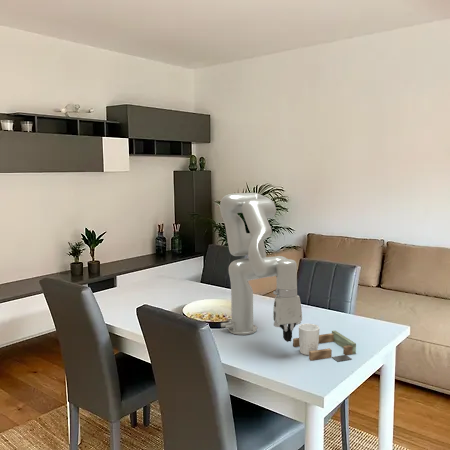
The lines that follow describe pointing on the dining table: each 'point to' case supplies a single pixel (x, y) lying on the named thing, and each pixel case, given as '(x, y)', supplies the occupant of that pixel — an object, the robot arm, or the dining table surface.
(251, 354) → the dining table surface
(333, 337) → the brown and green pieces
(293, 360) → the dining table surface
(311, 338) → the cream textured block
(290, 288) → the robot arm
